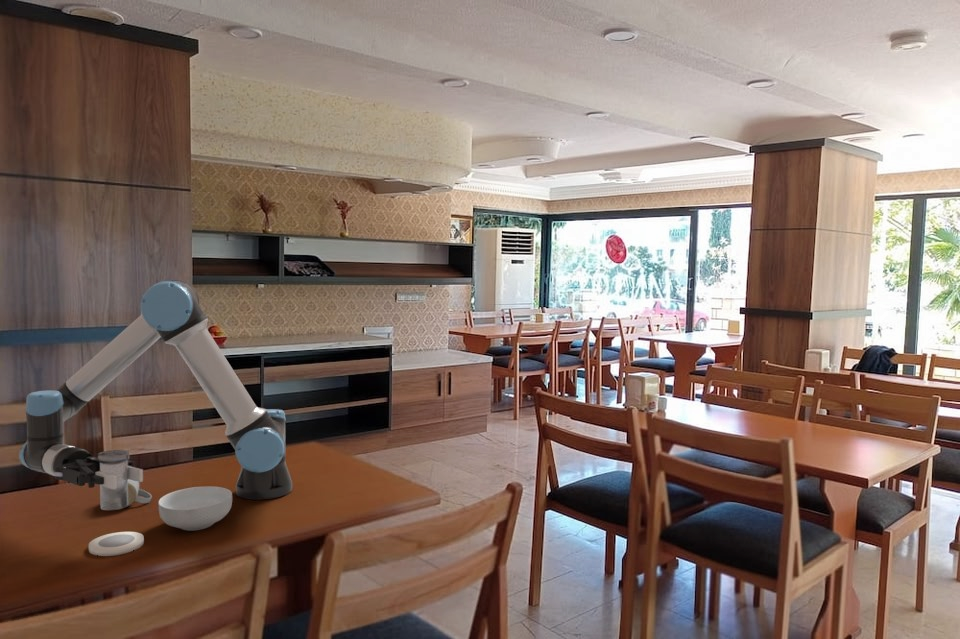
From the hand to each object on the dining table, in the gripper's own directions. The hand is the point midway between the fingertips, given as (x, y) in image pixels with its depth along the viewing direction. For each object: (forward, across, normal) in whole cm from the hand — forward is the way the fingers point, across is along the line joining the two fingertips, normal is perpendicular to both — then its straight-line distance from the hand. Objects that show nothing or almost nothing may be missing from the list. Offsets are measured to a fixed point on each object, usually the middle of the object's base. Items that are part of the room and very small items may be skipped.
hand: (128, 479), depth 155 cm
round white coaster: (-5, 0, -16) cm, 17 cm away
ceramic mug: (-29, -19, -17) cm, 38 cm away
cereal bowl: (-1, -18, -16) cm, 25 cm away
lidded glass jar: (-5, 0, -7) cm, 9 cm away
